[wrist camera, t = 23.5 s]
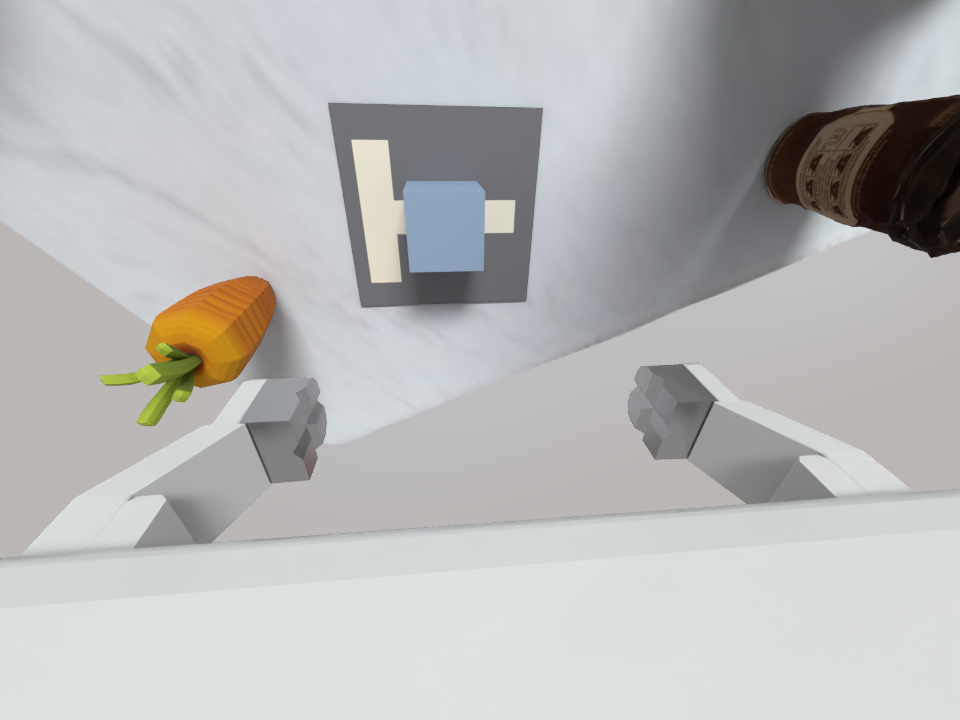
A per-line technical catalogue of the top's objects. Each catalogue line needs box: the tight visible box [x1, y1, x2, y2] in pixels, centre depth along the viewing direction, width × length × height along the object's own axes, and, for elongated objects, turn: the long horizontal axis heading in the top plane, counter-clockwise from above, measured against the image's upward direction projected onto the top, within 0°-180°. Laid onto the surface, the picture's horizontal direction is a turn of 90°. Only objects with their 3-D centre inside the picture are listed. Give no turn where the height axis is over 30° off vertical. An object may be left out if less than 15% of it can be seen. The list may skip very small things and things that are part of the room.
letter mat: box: [328, 103, 543, 306], centre depth 29 cm, size 14×14×1 cm
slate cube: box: [403, 181, 485, 273], centre depth 26 cm, size 5×5×5 cm
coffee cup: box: [765, 95, 960, 258], centre depth 24 cm, size 9×8×13 cm
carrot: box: [100, 276, 276, 426], centre depth 23 cm, size 5×5×15 cm
